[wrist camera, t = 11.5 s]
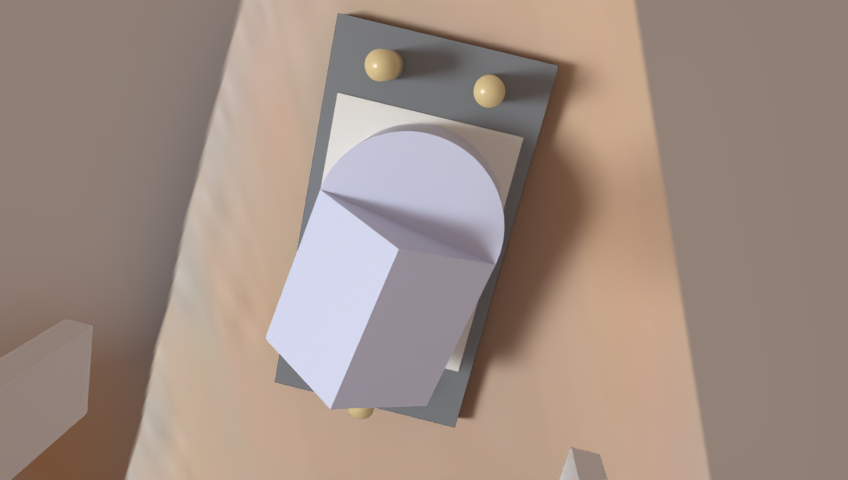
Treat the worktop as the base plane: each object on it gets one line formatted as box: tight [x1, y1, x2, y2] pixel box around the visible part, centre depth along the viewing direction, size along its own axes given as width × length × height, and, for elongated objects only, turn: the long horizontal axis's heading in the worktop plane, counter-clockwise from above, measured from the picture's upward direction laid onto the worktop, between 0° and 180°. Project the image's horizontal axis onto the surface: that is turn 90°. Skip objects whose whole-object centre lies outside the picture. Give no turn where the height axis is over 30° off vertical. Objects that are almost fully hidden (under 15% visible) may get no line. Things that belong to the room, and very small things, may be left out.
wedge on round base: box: [265, 124, 504, 409], centre depth 28 cm, size 9×7×13 cm
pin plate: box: [275, 13, 558, 428], centre depth 31 cm, size 21×11×4 cm, turn 167°
